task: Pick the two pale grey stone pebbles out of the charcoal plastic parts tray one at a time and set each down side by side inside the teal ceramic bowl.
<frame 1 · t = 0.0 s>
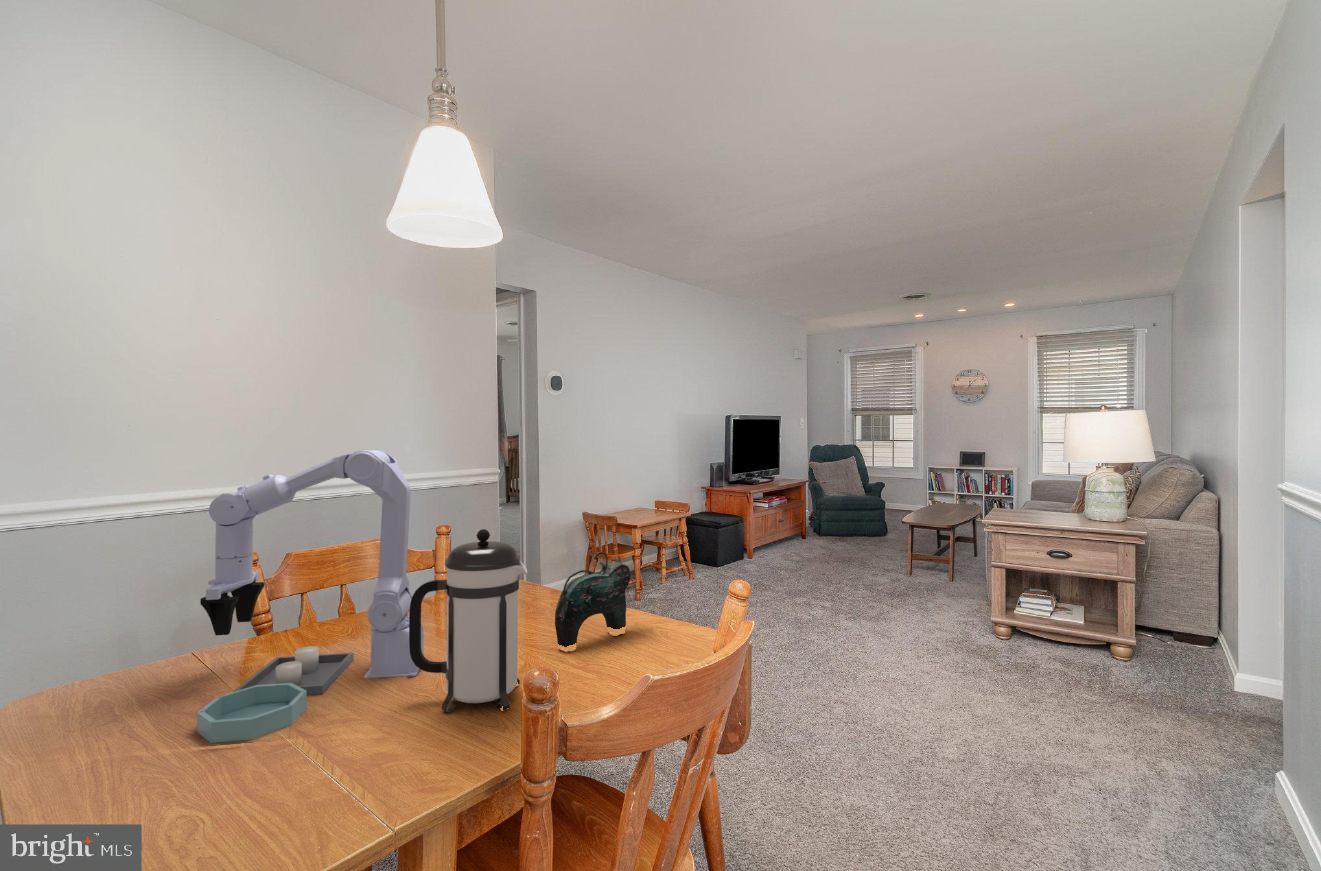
hand: (233, 628, 110), 10 cm above the table, tool pointing down, fingers open, 7 cm apart
parts tray: (298, 681, 110), on the table
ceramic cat: (595, 642, 133), on the table
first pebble: (306, 670, 114), resting on parts tray
bowl: (254, 722, 94), on the table
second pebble: (288, 687, 107), resting on parts tray
coffee press: (474, 700, 103), on the table
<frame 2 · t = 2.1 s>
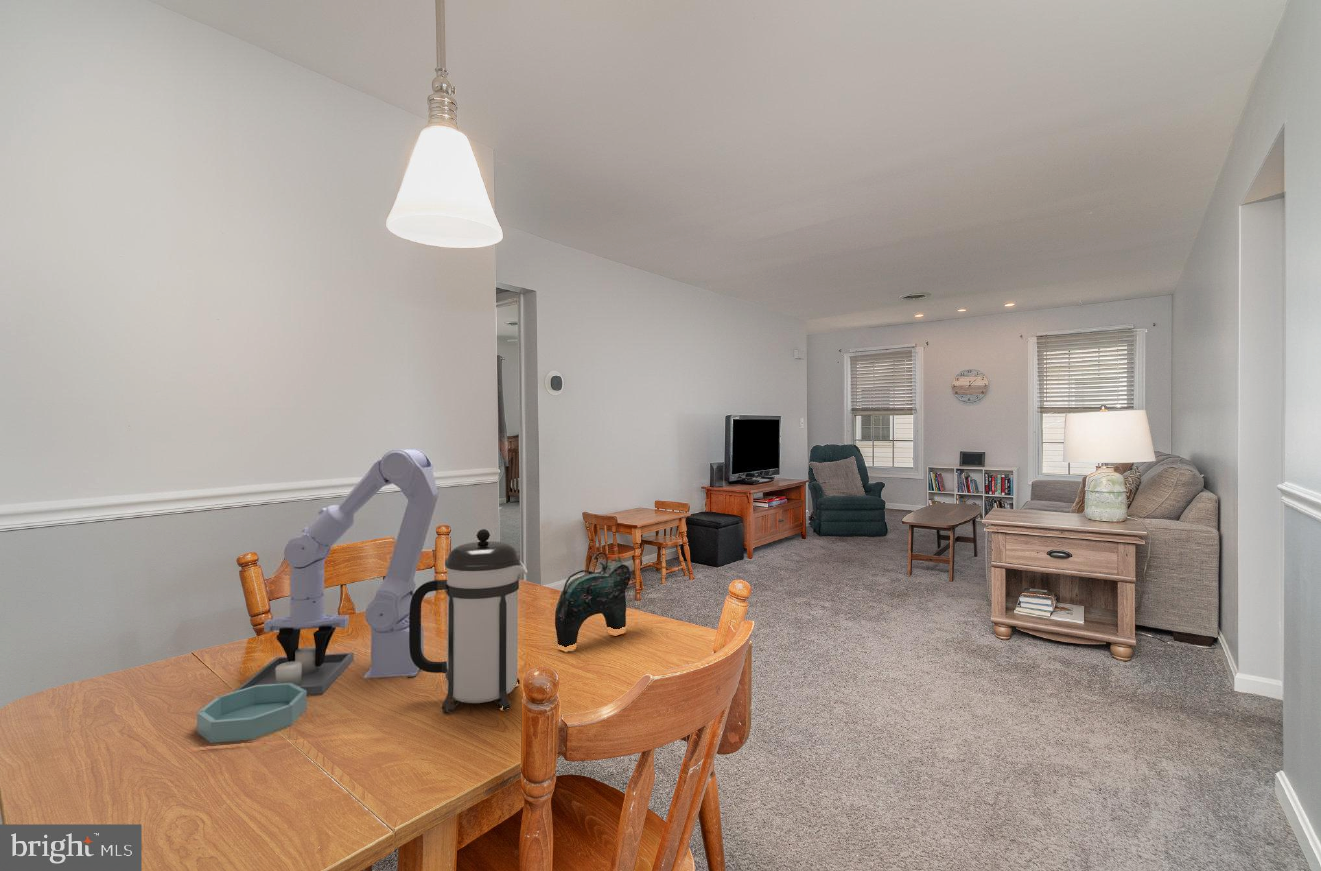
hand: (306, 665, 114), 1 cm above the table, tool pointing down, fingers closed on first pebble, 4 cm apart
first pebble: (306, 670, 114), point 1 cm above the table, touching gripper, parts tray
everything else where it was.
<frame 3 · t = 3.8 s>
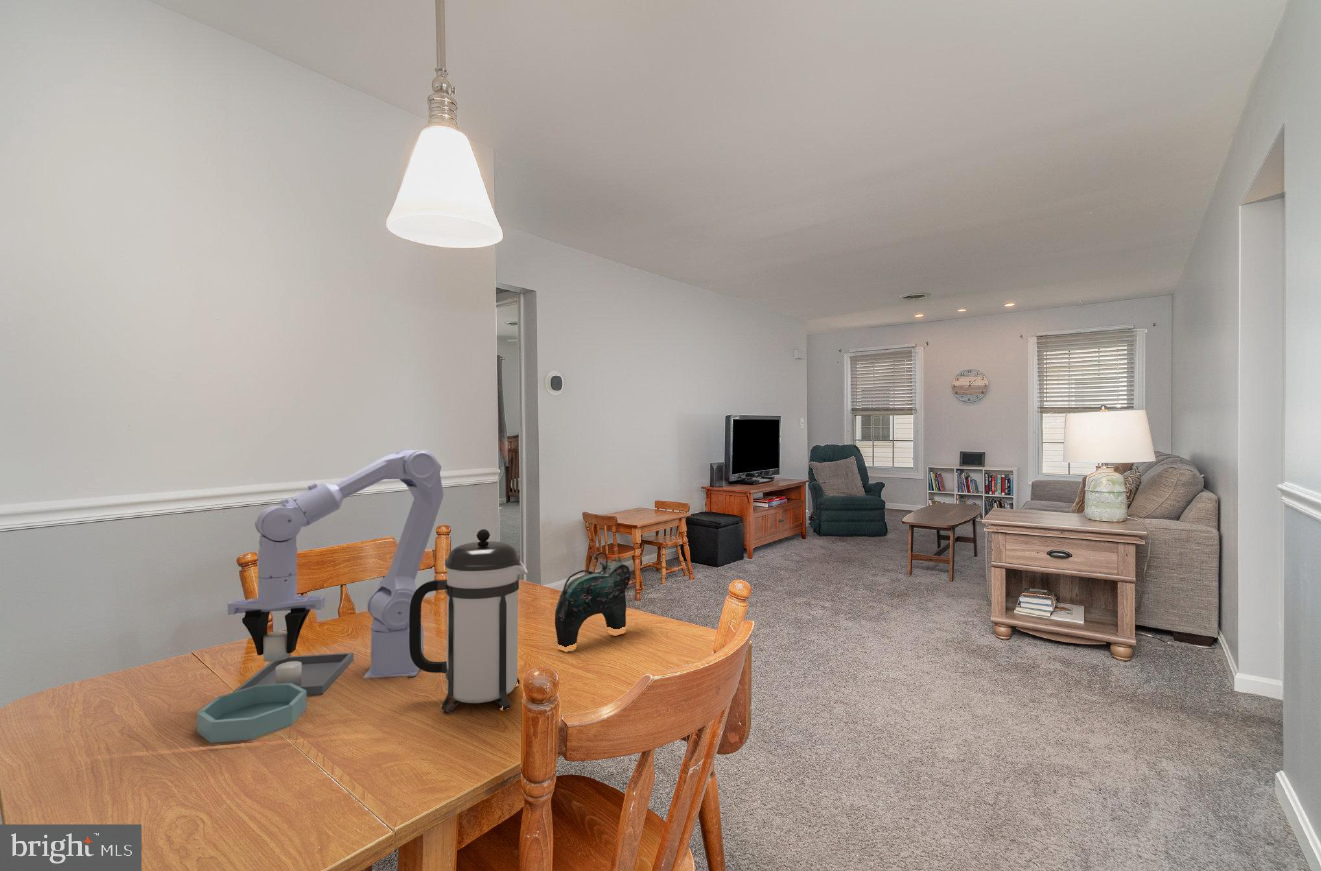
hand: (276, 652, 102), 8 cm above the table, tool pointing down, fingers closed on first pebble, 4 cm apart
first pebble: (276, 657, 102), point 8 cm above the table, touching gripper
everything else where it was.
when the fingers open (4 cm above the table, at t = 5.5 s): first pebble drops 2 cm, resting on bowl.
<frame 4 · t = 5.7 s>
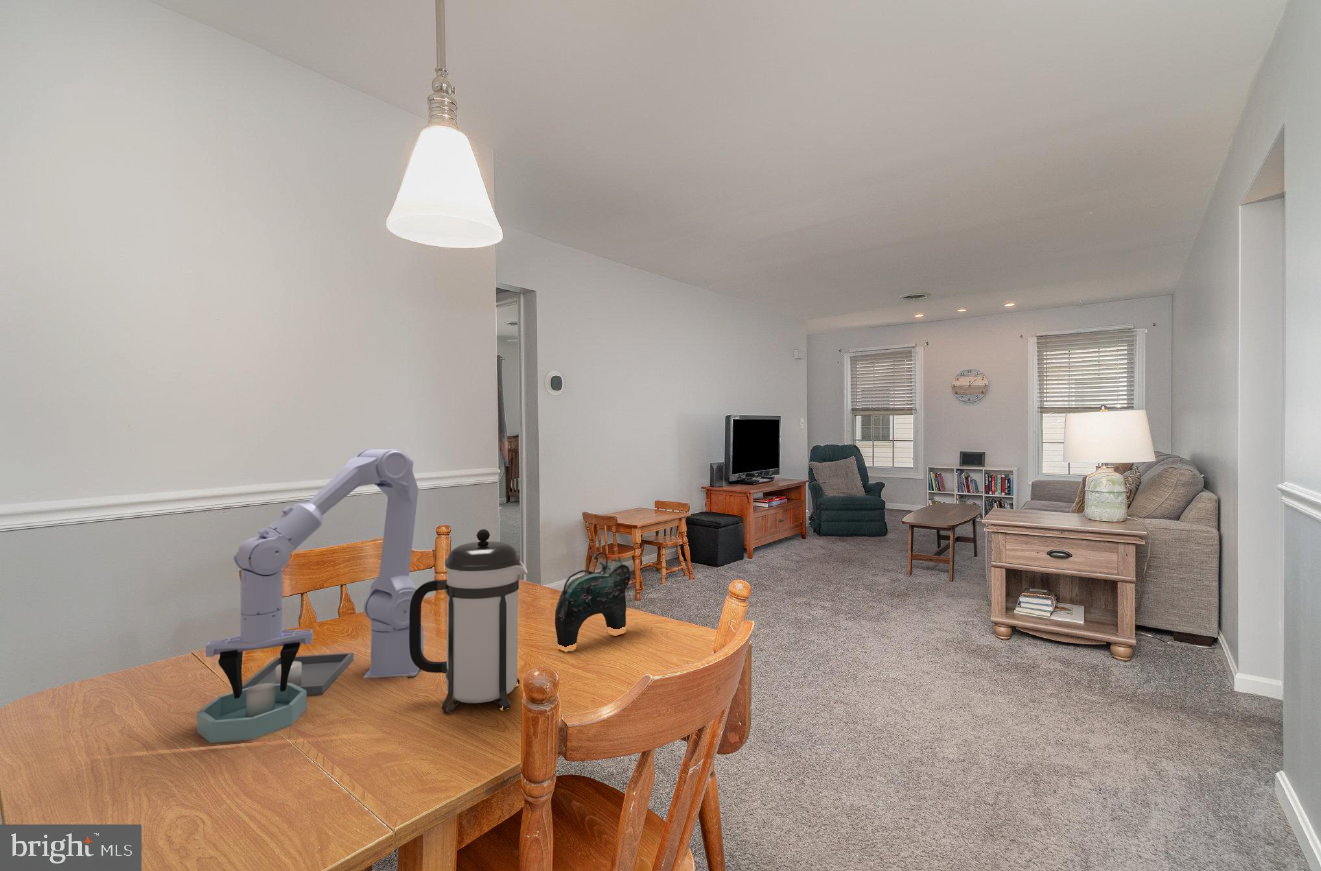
hand: (261, 692, 97), 4 cm above the table, tool pointing down, fingers open, 6 cm apart
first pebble: (260, 712, 96), point 1 cm above the table, touching bowl
everything else where it was.
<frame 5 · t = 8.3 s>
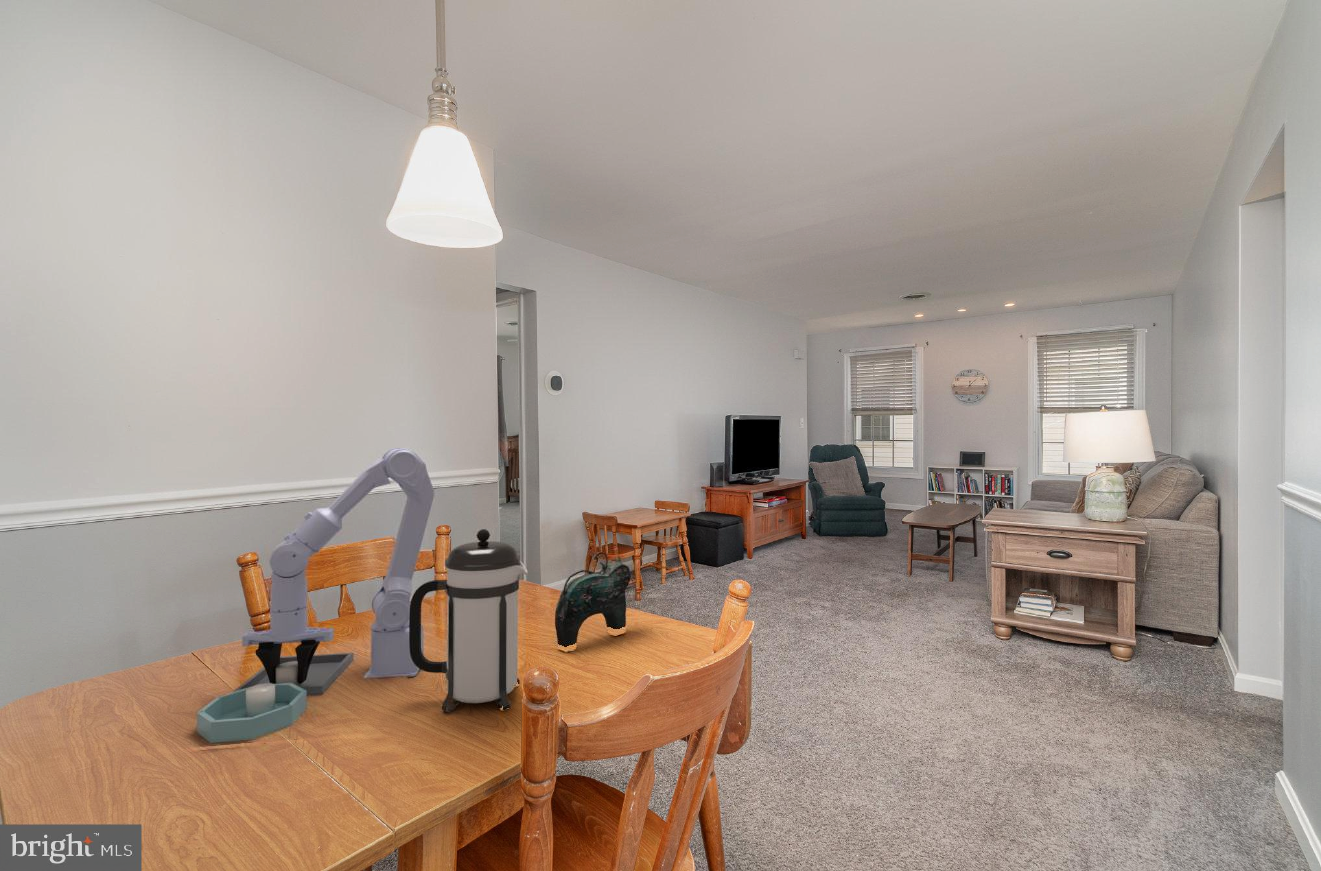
hand: (288, 682, 107), 1 cm above the table, tool pointing down, fingers closed on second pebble, 4 cm apart
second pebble: (288, 687, 107), resting on parts tray, touching gripper
everything else where it was.
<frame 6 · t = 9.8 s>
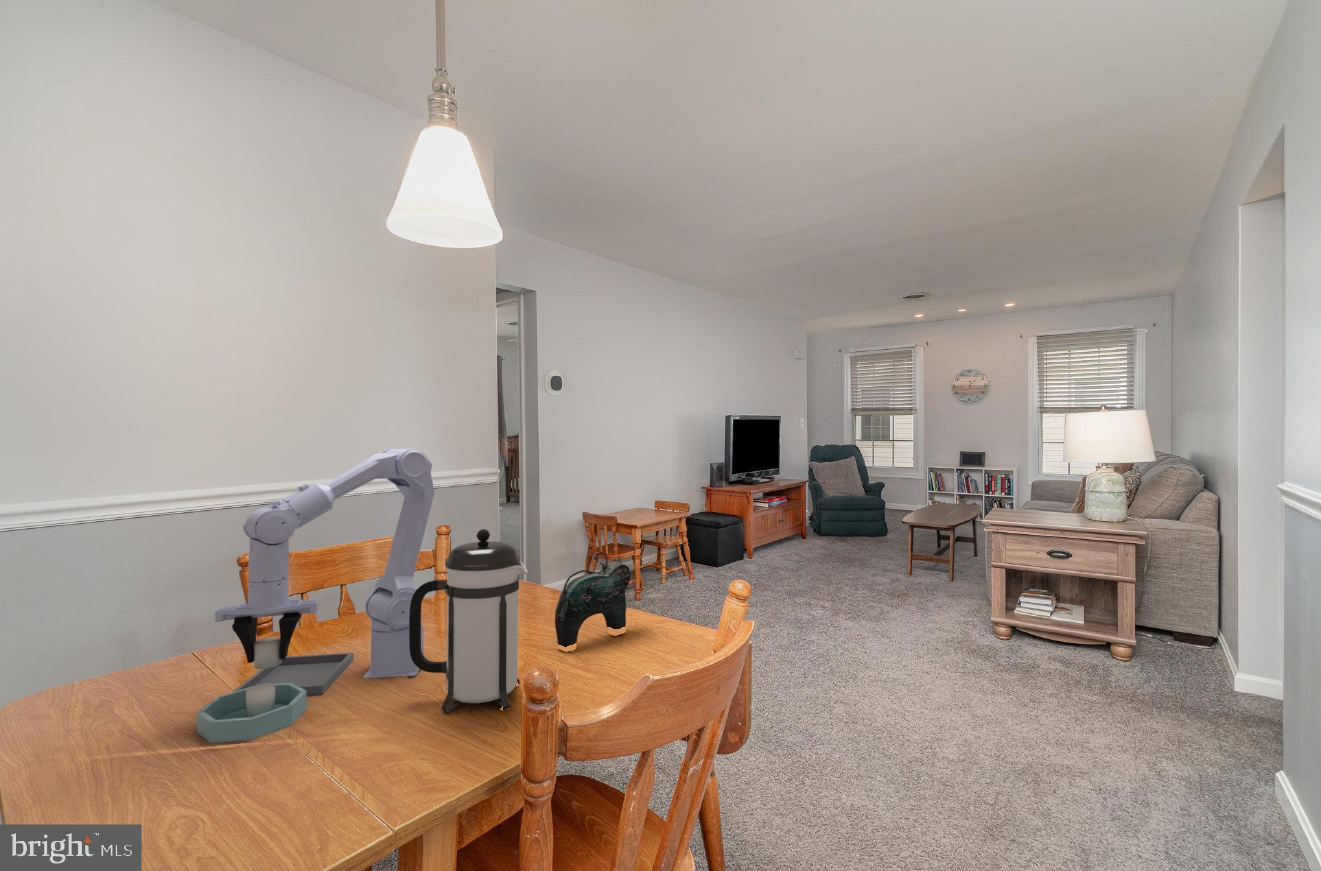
hand: (267, 659, 99), 9 cm above the table, tool pointing down, fingers closed on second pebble, 4 cm apart
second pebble: (267, 664, 99), point 8 cm above the table, touching gripper
everything else where it was.
when the fingers open (4 cm above the table, at t = 11.5 s): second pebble drops 2 cm, resting on bowl.
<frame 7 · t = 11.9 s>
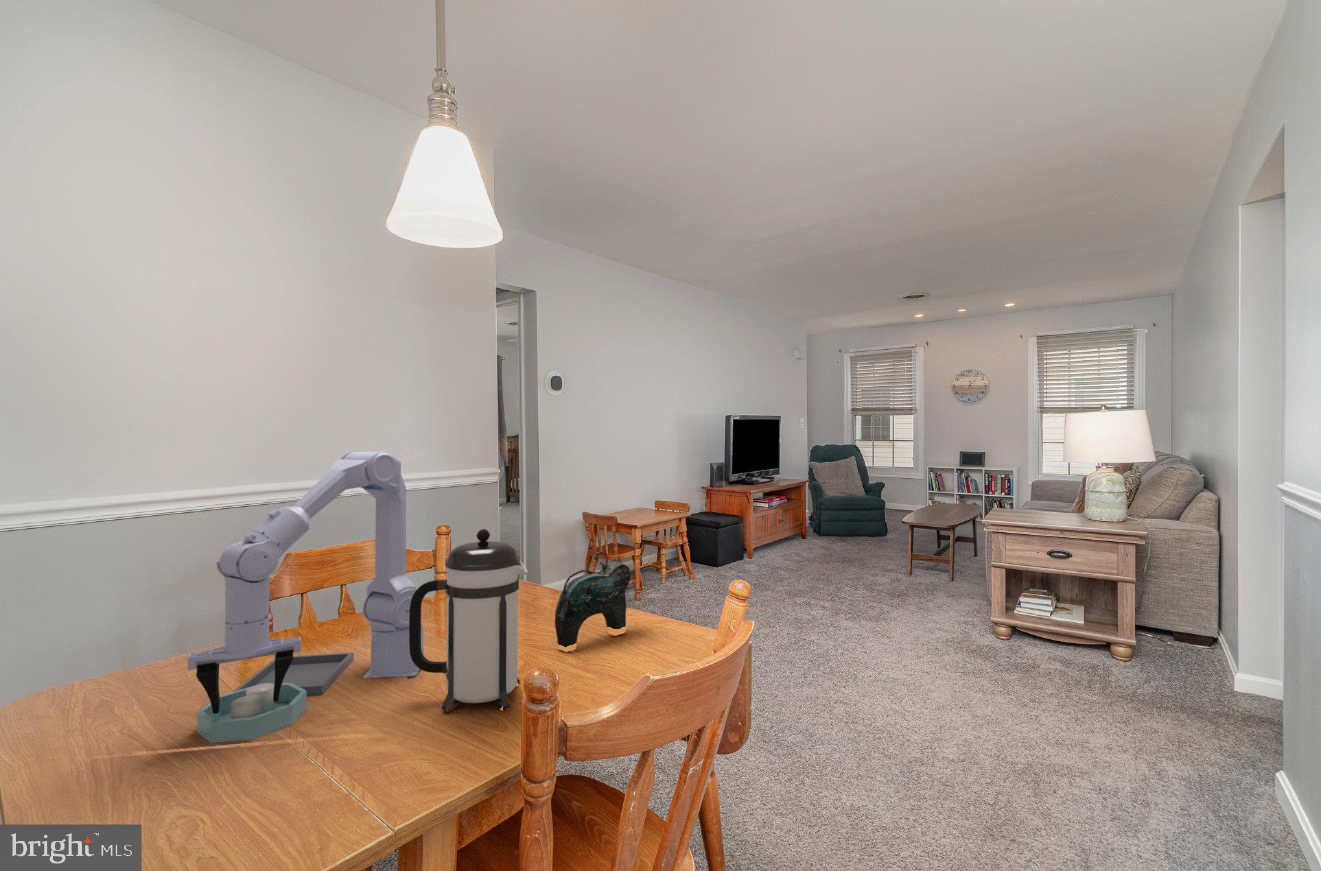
hand: (246, 705, 92), 4 cm above the table, tool pointing down, fingers open, 7 cm apart
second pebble: (246, 726, 92), point 1 cm above the table, touching bowl
everything else where it was.
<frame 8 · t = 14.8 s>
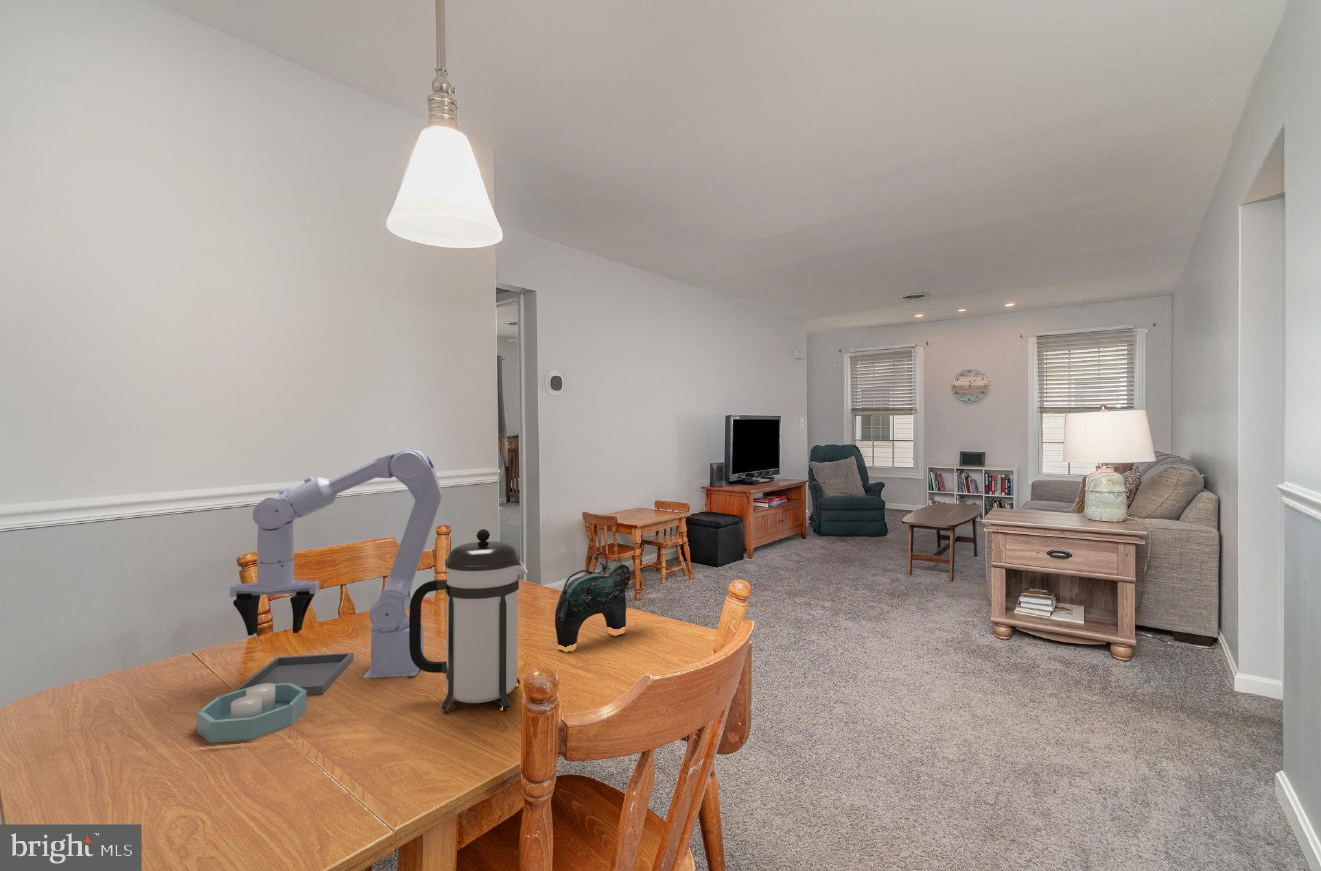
hand: (275, 632, 110), 9 cm above the table, tool pointing down, fingers open, 7 cm apart
nothing on the table moved.
at the end: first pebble inside the target area on the bowl (2.3 cm from its centre), point 0.6 cm above the bowl's base; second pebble inside the target area on the bowl (2.3 cm from its centre), point 0.6 cm above the bowl's base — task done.
